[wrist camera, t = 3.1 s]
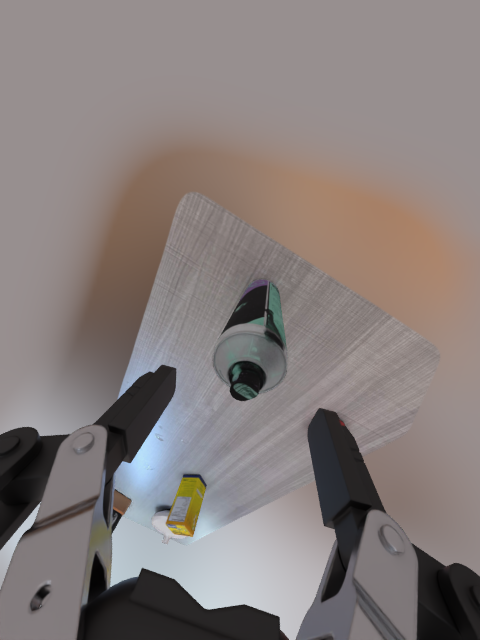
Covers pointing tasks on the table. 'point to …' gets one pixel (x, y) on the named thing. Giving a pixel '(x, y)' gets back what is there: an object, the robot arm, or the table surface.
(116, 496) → the whiskey bottle
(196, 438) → the table surface
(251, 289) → the spray can
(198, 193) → the table surface
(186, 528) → the supplement box
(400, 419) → the table surface
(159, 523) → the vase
